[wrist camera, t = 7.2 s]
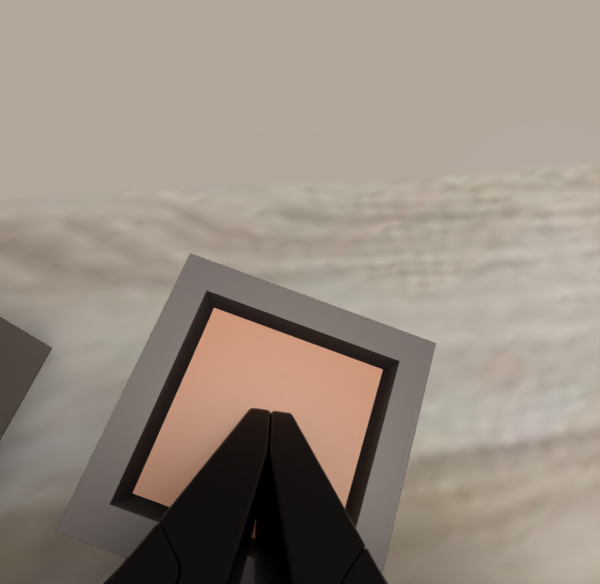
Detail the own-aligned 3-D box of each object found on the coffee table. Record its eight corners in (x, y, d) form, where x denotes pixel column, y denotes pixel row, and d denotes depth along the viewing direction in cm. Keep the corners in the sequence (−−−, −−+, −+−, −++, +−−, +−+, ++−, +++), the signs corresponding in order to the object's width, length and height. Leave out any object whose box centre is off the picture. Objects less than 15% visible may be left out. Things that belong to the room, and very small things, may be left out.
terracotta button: (356, 386, 13) (382, 369, 10) (310, 543, 11) (329, 566, 9) (219, 336, 13) (214, 307, 10) (155, 486, 11) (133, 493, 9)
